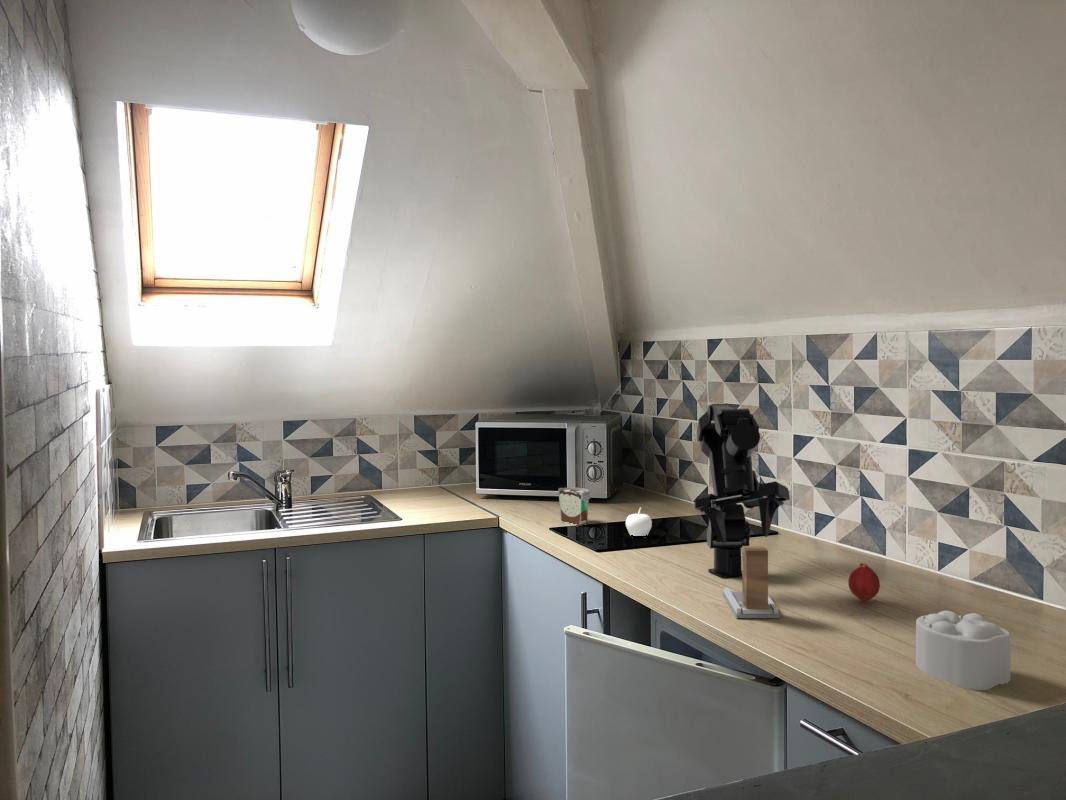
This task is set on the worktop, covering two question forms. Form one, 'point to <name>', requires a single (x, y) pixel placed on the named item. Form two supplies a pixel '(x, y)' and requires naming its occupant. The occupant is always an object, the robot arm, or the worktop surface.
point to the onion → (864, 583)
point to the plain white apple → (638, 524)
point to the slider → (733, 600)
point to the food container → (574, 505)
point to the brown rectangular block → (755, 581)
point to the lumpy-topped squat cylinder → (963, 650)
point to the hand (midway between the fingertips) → (744, 539)
